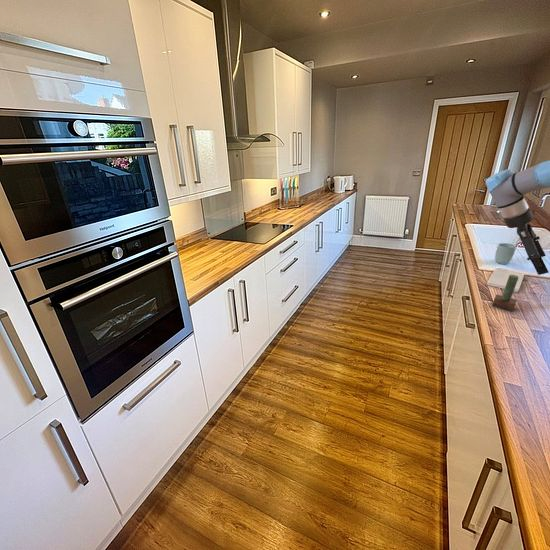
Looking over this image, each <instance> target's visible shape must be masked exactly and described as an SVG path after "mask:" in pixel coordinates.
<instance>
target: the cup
mask: <svg viewBox="0 0 550 550" xmlns="http://www.w3.org/2000/svg"><path fill="white" fill-rule="evenodd" d="M516 250H517V246H516V245H514V244H511V243H507V242H500V243H498V244H497V247H496V250H495V252H494V253H495V254H494V260H495V262H496V263H498V264H500V265H507V264H509V263H511V262H512V260H513V257H514V255H515V252H516Z"/></svg>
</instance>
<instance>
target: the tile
mask: <svg viewBox="0 0 550 550" xmlns="http://www.w3.org/2000/svg"><path fill="white" fill-rule="evenodd" d="M525 274H526V273H525V272H520V271H516V270H512V269H507V268H502V267H497V266H496V267H495V268H494V270H493V271H492V273H491V275H490V276H489V278H488V280H487V281H486V285H487V286H490V287H494V288H499V289H502V290H504V289H505V286H506V283H507V281H508V278H509V275H516V276H518V277H519V278H518V281H517V284H516V286H515V289H514V292H515V293H519V292H520V288H521V285H522V282H523V280H524V278H525ZM514 292H513V293H514Z"/></svg>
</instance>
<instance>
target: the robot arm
mask: <svg viewBox="0 0 550 550" xmlns="http://www.w3.org/2000/svg"><path fill="white" fill-rule="evenodd" d="M485 186H486V188H487V190H488V193H489V194H490V196H491V198H492V199H493V201H494V204H495V205H496V208H497V209H498V210H497V213H498V214H500V215H501V217H502V218H503V221H504V223H505V225H506V227H507V228H508V229H516V235H517V236H518V237H519V239H520V242H521V243H522V246H523V248H524V250H525V253H526V255H527V258H526V260H527V261H530V262H531V264H532V265H533V267H534V270H535V271H536V273H537V276H541V275H545V274H549V273H550V272H549V270H548V268H547V266H546V264H545V262H544V260H543V257H546V253H545V251H544V249H543V247H542V245H541V244H540V241H539V240H540V239H541V238H540V236H538V235H537V234H536V233H535V231H534V230H533V227H532V225H531V222H532V221H534V218H535V216H534V214H533V213H532V211H531V209H530V205H529V203H528V202H527V200H526V198H525V196H524V195H526V194H529V193H533V192H536V191H539V190H542V189H548V188H550V160H546V161H542V162H540V163H538V164H535V165H533V166H531V167H528V168H526V169H523V170H521V171H518V172H514V173H513V172H512V171H511V169H503V170H500V171H498V172H496V173H494V174H492V175H491V176H489V177H488V178H486V180H485Z"/></svg>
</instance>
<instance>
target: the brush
mask: <svg viewBox="0 0 550 550" xmlns="http://www.w3.org/2000/svg"><path fill="white" fill-rule="evenodd" d="M518 278H519V277H518V276H516V275H509V278H508V281H507V283H506V286H505V289H503V292H502V295H500V294H496V295H495V297H494V299H493V301H492V305H491V307H493V308H497V309H502V310H505V311H508V312H511V313H513V312H514V309H515V307H516V304H517V301H518V299H516V298H512V297H513V294H514V289H515V286H516V284H517V281H518Z"/></svg>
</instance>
